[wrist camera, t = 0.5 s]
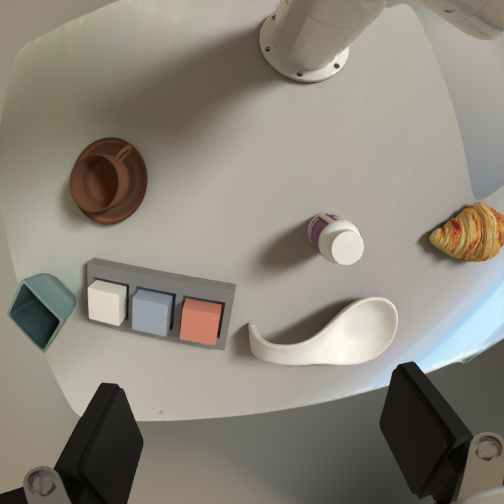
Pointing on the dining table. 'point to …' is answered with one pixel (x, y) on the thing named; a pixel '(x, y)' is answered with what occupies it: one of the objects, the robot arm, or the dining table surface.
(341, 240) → the pill bottle
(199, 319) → the key red
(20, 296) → the flower pot
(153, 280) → the grey flat tray
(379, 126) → the dining table surface
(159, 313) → the key blue
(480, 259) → the croissant
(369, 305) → the spoon rest
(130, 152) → the cup and saucer
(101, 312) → the key white
